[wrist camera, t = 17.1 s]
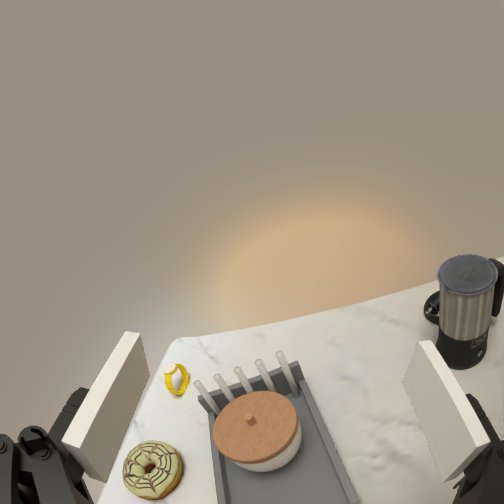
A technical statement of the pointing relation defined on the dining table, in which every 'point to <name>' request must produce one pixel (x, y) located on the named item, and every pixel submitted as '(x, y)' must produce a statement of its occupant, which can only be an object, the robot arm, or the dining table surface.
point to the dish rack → (303, 463)
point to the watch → (168, 372)
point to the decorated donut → (160, 478)
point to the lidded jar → (258, 431)
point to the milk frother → (465, 307)
